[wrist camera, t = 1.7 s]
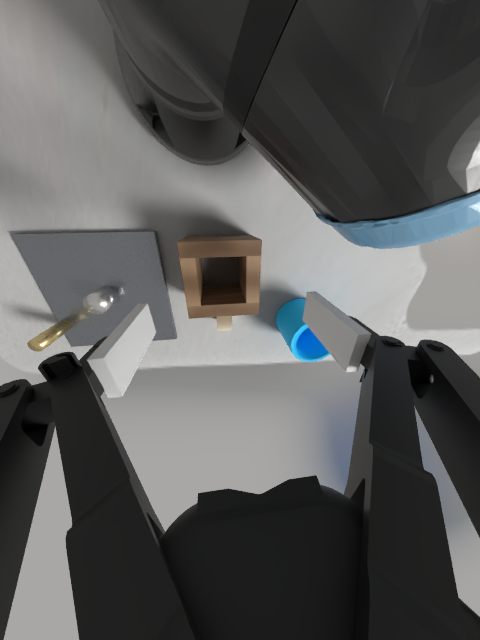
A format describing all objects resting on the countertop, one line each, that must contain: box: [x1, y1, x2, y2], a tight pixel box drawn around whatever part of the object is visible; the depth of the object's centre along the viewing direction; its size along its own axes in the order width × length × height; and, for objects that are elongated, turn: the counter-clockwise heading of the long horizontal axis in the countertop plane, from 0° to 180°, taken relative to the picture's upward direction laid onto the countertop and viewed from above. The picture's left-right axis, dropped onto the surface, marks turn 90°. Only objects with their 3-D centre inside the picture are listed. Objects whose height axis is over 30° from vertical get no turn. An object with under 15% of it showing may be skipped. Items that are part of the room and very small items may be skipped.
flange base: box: [10, 231, 177, 347], centre depth 28 cm, size 18×18×4 cm
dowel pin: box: [27, 320, 73, 351], centre depth 28 cm, size 2×2×6 cm
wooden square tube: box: [177, 235, 262, 331], centre depth 28 cm, size 14×10×8 cm, turn 1°
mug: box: [276, 298, 330, 362], centre depth 33 cm, size 12×8×8 cm
